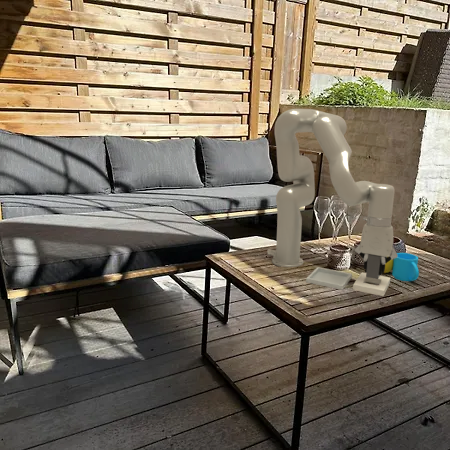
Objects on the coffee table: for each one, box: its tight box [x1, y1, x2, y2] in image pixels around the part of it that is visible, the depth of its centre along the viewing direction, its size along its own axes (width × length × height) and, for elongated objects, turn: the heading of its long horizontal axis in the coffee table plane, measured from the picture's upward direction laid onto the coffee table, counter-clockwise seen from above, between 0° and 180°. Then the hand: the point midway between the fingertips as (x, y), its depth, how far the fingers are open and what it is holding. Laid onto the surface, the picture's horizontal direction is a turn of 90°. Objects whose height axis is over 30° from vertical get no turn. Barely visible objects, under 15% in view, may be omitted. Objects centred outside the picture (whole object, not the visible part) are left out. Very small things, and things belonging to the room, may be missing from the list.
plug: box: [365, 254, 382, 279], centre depth 144 cm, size 4×5×8 cm
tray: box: [305, 266, 353, 291], centre depth 151 cm, size 13×13×2 cm
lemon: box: [383, 259, 394, 274], centre depth 158 cm, size 6×6×8 cm
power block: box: [352, 272, 392, 297], centre depth 146 cm, size 10×13×3 cm
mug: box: [391, 252, 420, 282], centre depth 153 cm, size 12×8×8 cm
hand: (373, 272), depth 145 cm, fingers closed on plug, 4 cm apart
